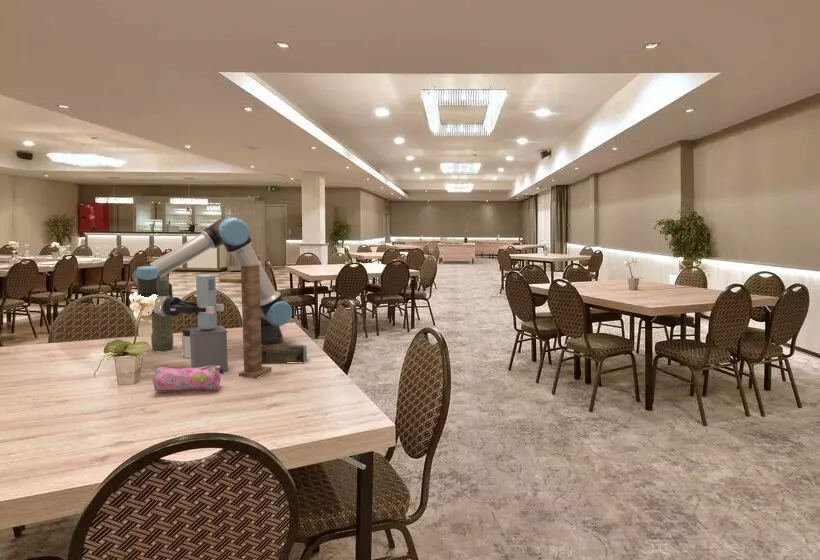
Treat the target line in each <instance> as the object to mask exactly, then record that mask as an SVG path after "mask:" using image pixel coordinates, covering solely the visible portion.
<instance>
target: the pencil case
mask: <svg viewBox="0 0 820 560" xmlns="http://www.w3.org/2000/svg"><path fill="white" fill-rule="evenodd" d="M219 368H220V366H215V365H209V367H208V366H205V367H200V368H191V367H190V368H189V367H187V368H175V367H174V368H172V367H165V366H160V367H158V368H157V369H156V370H155V371H154V373H153V377H152V384H153V385H152V386H153V388H154V391H156V392H157V393H166V392H172V391H181V390H184V391H185V390H186V391H187V390H188V391H189V390H190V391H191V390H199V391H215V390H217V391H219V389H218V388H220V384H221V378H222V377H221V374H222V375H223V374H224V371H223V369H219Z"/></svg>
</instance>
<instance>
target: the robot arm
mask: <svg viewBox="0 0 820 560" xmlns="http://www.w3.org/2000/svg"><path fill="white" fill-rule="evenodd" d="M252 244H253V239H252V237H251V236H250V230H249V227H248V225H247V224H246V222H244V221H243V220H242V219H241V218H238V217H223V218H220V219H218V220H216V221H215V222H213V223H212V224H211V225H209V226H207V227H205V229H202V230H201V233H200V234H198V235H196V236H195V237H194V238H192V239H190V240H188V241H186V242H184V243H182V244H181V245H179V246H177V247H176V248H175V249H172V250H170V251H168V252H167V253H165V254H164V255H162V256H160V257H158V258H157V259H155V260H154V261H151V262H150V263H148V264H146V265H145V266H144V265H143V266H138V267H136V270H134V271H133V273H132V278H131V279H132V281H133V283H134V284H135V285H136V286H137V296H138V295H140V294H141V296H144V297H149V296H151V295H152V294H156V295H158V296H157V297H158V299H157V298H156V300H155V306H154V309H153V310H154V311H153V310H152V311H153V312H152V314H154V315H162V316H165V315H169V316H171V317H177V316H179V315H180V314H189V315H190V314H195V315H194V316H198V312H199V313H208V314H215V308H214V307H213V306H199V308H198V306H197V301H182V300H181V298H180V297H178V296H177V297H176V296H173V297H166V296H159V294H158V293H159V292H158V279H160V278H161V277H163V276H165V275H166V274H167V275H168V274H169V273H171V272H173V271H175V270H176V269H178V268H180V267H181V266H184V265H185V264H187V263H189V262H190V261H192V260H193V259H195V258H197V257H199V256H200V255H202V254H204V253H205V252H208V250H210V249H214V250H215V249H217V248H218V247H220V246H224V248H225V250H226V252H227V253H229V254H230V255H233V257H234V259H235V260H236V262H237V264H238V266H239V268H240V269H241V266H242V265H250V264H251V265H259V276H260V313H261V345H273V344H277V343H281V342H283V341H284V334H283V333H282V329H281V326H285V325H286V324H288V323H289V321H290V320H291V319H292V316H293V309H292V307H291V305H290V304H289V303H288V302H287V301H286V300H285V299H284V297H283V295H282V294H281V292H280V291H276V290H275V288H274V285H273V283H272V282H271V280H270V278H269V276H268V275H267V272H266V271H265V269H264V267H263V265H262V263H261V261H260V260H259V258H258V256H257V254H256V252H255V251H254V248H253V247H252ZM159 299H160V302H158V300H159ZM132 302H134V297H133V299H132ZM160 305H161V309H160ZM216 308H217V312H224V311H225V305H224V303H223V304H222V303H216ZM159 310H160V311H159ZM155 312H156V313H155ZM148 313H149V312H148Z"/></svg>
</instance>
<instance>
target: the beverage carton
mask: <svg viewBox="0 0 820 560" xmlns="http://www.w3.org/2000/svg"><path fill="white" fill-rule="evenodd" d="M307 349H308V348H307V345H278V344H277V345H273V344H262V345H261V350H262V364H288V363H287V362H304V361H305V362H306V360H307V356H308V355H307V354H308V353H307ZM305 359H306V360H305ZM305 362H304V363H305Z"/></svg>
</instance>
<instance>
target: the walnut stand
mask: <svg viewBox="0 0 820 560" xmlns="http://www.w3.org/2000/svg"><path fill="white" fill-rule="evenodd" d="M218 281H219V282H220V283H225V284H226V283H227V284H230V283H231V284H241V285H240V286H241V288H240V289H241V312H242V313H241V314H242V317H241V318H242V346H243V347H242V349H243V370H241V371H239V372H238V377H240V376H245V377H244V378H250V377H259V376H261V375H263V374H265V373H266V374H268V373H270V372H271V370H272V367H271V366H265V365H264V366H263V363H262V350H261V347H262V344H261V313H260V276H259V265H251V264H250V265H242V266H241V268H240V277H227V276H220V277H219V280H218ZM269 371H270V372H269ZM272 371H273V370H272ZM267 372H268V373H267ZM266 374H265V375H266ZM263 376H264V375H263ZM261 377H262V376H261ZM259 378H260V377H259Z"/></svg>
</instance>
